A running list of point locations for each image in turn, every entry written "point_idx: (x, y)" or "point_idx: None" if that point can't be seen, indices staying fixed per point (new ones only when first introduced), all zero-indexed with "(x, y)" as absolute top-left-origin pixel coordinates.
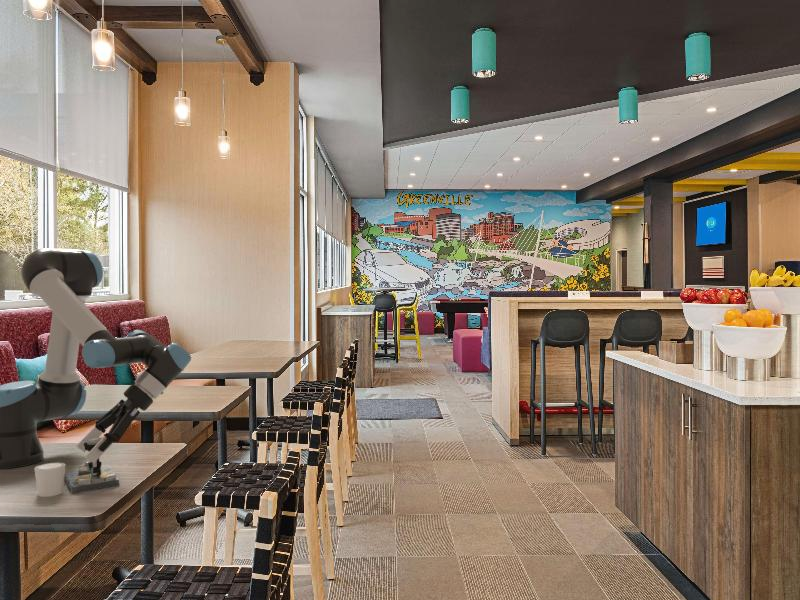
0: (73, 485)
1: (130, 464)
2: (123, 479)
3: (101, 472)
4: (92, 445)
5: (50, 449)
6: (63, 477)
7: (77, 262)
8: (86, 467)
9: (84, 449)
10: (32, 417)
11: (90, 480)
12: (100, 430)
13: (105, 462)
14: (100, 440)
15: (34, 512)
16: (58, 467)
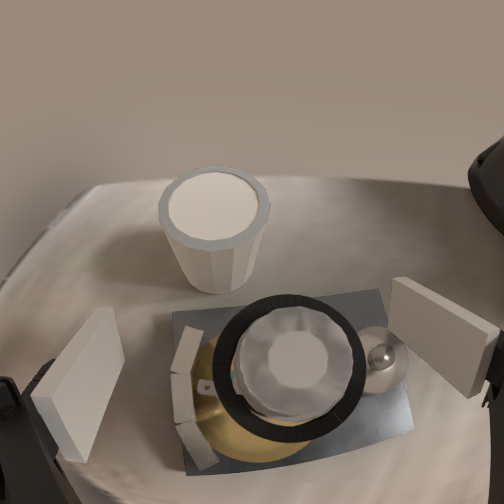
0: (194, 316)
1: (456, 487)
2: (268, 493)
3: (269, 418)
4: (216, 347)
5: None
6: (196, 270)
7: None
8: None
9: (394, 323)
10: None
11: (170, 369)
12: (489, 378)
13: None
14: (60, 370)
15: (72, 229)
16: (168, 227)
